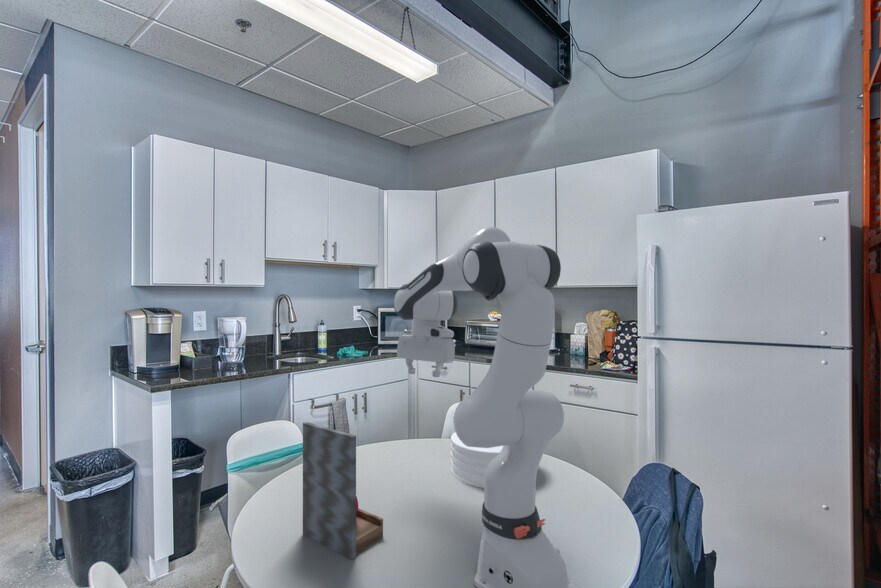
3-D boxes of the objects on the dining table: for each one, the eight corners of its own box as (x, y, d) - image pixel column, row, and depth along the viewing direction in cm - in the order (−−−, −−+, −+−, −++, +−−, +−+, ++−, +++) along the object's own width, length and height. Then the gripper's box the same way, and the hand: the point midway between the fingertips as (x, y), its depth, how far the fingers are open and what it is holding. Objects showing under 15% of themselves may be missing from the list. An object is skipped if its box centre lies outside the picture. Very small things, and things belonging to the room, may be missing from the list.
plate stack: (485, 497, 133) (486, 459, 133) (435, 466, 156) (435, 433, 156) (551, 476, 148) (551, 441, 148) (496, 451, 172) (496, 421, 172)
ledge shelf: (385, 537, 111) (386, 425, 111) (352, 559, 102) (352, 436, 101) (337, 516, 121) (337, 413, 121) (302, 534, 112) (302, 423, 112)
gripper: (393, 328, 142) (391, 372, 141) (446, 332, 130) (444, 379, 129) (406, 329, 147) (404, 371, 146) (458, 332, 135) (456, 378, 134)
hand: (423, 375), depth 138 cm, fingers open, 8 cm apart
